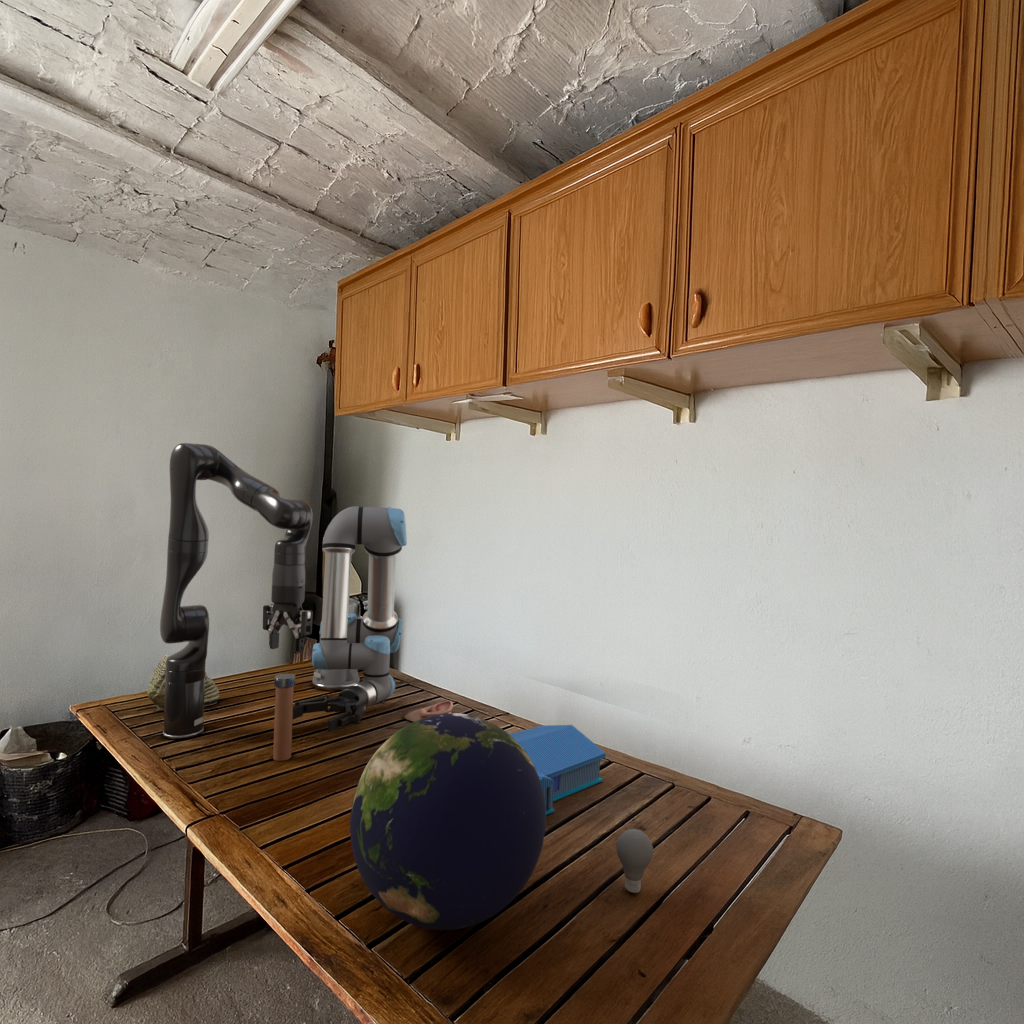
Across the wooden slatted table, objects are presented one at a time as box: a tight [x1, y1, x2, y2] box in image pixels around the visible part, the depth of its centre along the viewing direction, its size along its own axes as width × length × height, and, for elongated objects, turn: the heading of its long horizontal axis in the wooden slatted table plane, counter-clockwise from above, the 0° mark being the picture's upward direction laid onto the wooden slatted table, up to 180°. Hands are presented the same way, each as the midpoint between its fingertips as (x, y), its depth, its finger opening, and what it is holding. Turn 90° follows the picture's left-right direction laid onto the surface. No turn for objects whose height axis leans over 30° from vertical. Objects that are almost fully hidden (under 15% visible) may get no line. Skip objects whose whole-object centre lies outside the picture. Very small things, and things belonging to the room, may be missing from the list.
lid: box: [273, 673, 297, 688], centre depth 152 cm, size 5×5×2 cm
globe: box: [349, 712, 547, 931], centre depth 98 cm, size 30×30×30 cm
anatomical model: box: [403, 700, 454, 723], centre depth 184 cm, size 13×4×12 cm
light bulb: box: [615, 828, 654, 894], centre depth 106 cm, size 6×6×10 cm
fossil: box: [147, 654, 221, 712], centre depth 185 cm, size 9×18×15 cm, turn 132°
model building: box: [509, 724, 607, 816], centre depth 141 cm, size 39×24×10 cm, turn 132°
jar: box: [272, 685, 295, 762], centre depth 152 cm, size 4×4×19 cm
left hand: (286, 650), depth 152 cm, fingers open, 7 cm apart
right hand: (306, 721), depth 159 cm, fingers open, 13 cm apart
